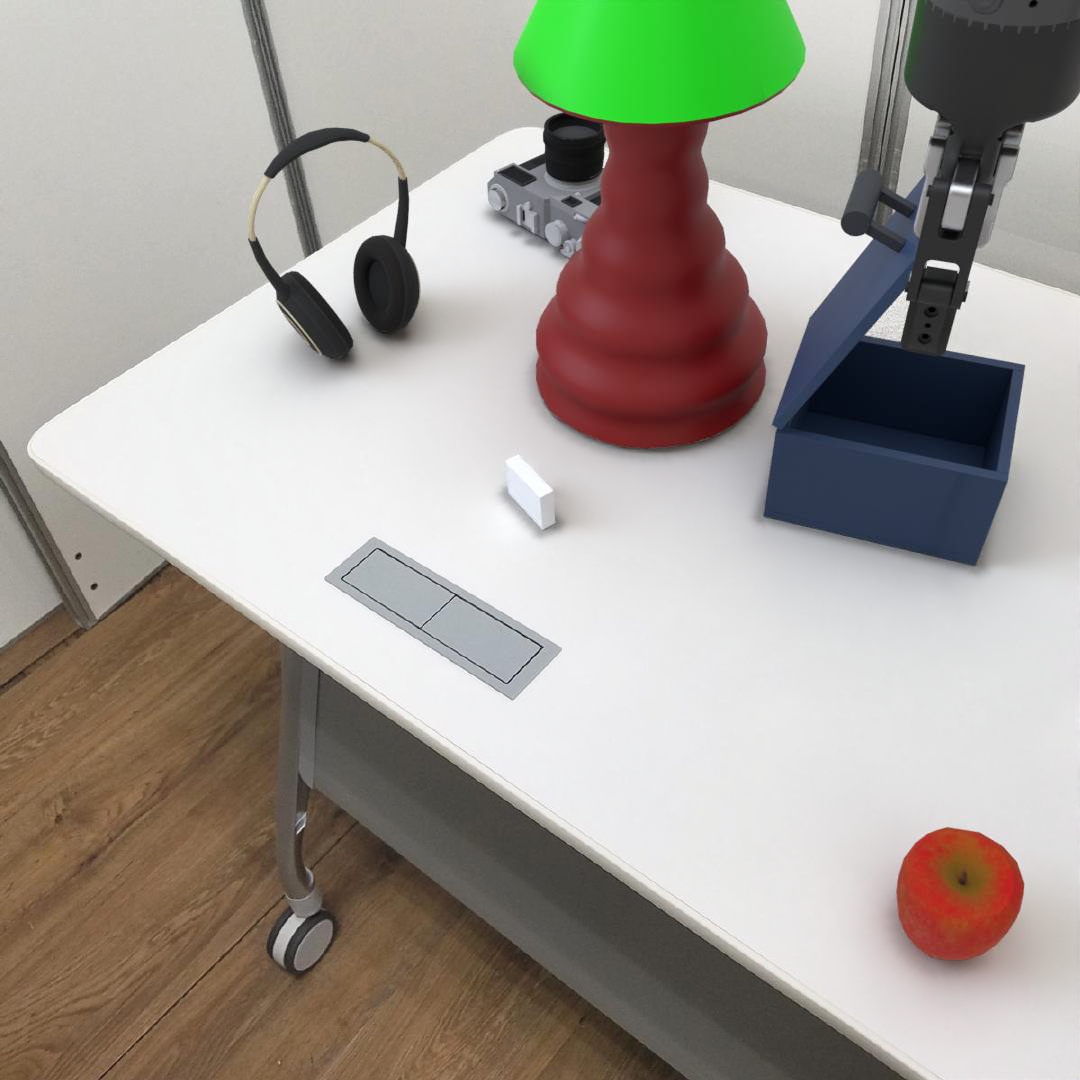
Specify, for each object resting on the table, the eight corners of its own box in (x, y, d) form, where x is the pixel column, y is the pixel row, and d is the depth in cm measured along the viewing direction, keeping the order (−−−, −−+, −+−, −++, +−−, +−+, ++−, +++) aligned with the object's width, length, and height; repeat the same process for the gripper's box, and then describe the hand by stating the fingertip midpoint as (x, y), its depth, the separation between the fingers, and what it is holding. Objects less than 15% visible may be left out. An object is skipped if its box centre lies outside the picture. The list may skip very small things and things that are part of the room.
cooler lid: (953, 157, 71) (888, 118, 71) (924, 267, 64) (851, 224, 63) (818, 323, 84) (762, 290, 84) (780, 430, 77) (719, 395, 76)
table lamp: (808, 356, 96) (911, -268, 62) (678, 489, 86) (715, -163, 52) (625, 278, 104) (627, -304, 71) (489, 391, 95) (416, -220, 61)
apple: (951, 858, 65) (982, 798, 59) (1019, 953, 61) (1059, 898, 56) (860, 899, 64) (883, 841, 58) (923, 999, 60) (955, 948, 54)
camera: (678, 146, 102) (602, 184, 97) (670, 242, 109) (599, 281, 104) (549, 86, 111) (474, 118, 106) (550, 178, 118) (479, 212, 113)
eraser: (542, 530, 84) (539, 497, 81) (508, 493, 87) (504, 460, 84) (555, 523, 84) (553, 490, 82) (521, 487, 87) (517, 453, 84)
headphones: (451, 327, 101) (421, 123, 86) (308, 394, 96) (250, 190, 81) (404, 284, 106) (368, 84, 91) (266, 346, 101) (204, 144, 86)
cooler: (994, 450, 87) (1025, 364, 80) (975, 566, 79) (1007, 482, 73) (799, 410, 91) (812, 325, 85) (763, 516, 84) (775, 432, 77)
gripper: (1101, 67, 40) (993, 401, 52) (1123, -79, 49) (1025, 237, 61) (892, 45, 42) (835, 370, 54) (948, -91, 51) (887, 216, 63)
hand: (935, 300), depth 58 cm, fingers open, 8 cm apart
